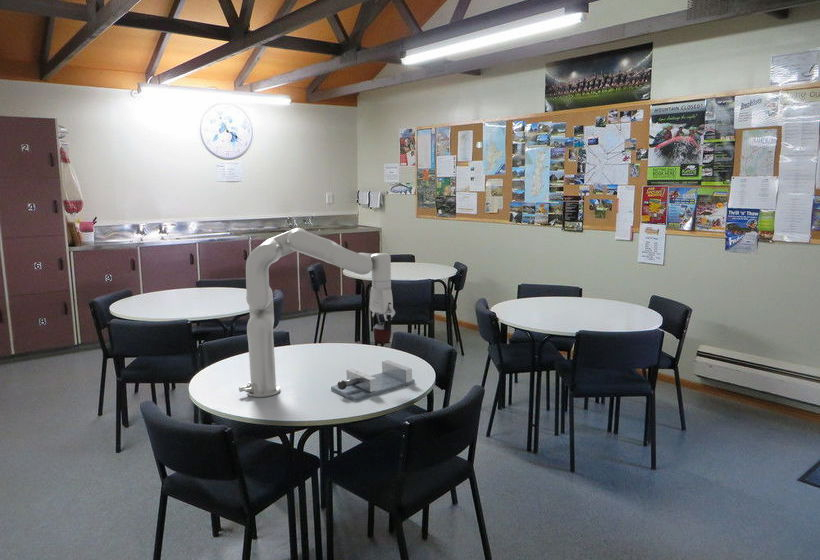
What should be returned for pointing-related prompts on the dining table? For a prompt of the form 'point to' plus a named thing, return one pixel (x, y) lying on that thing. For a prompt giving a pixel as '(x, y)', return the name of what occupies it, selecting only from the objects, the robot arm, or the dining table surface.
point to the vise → (380, 382)
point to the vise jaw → (358, 380)
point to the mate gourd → (381, 333)
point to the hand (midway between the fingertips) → (382, 327)
